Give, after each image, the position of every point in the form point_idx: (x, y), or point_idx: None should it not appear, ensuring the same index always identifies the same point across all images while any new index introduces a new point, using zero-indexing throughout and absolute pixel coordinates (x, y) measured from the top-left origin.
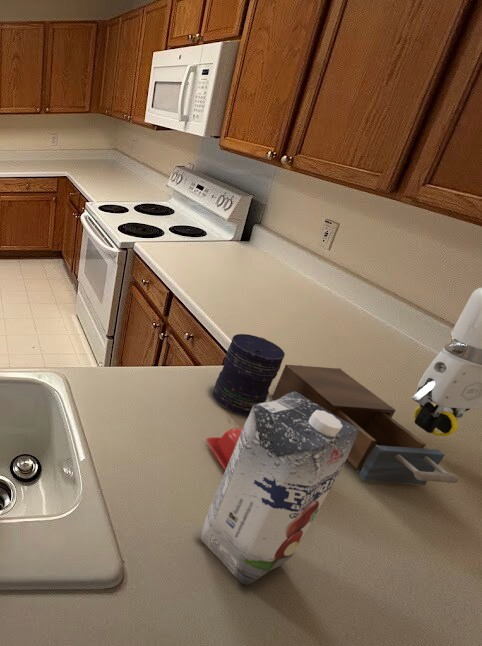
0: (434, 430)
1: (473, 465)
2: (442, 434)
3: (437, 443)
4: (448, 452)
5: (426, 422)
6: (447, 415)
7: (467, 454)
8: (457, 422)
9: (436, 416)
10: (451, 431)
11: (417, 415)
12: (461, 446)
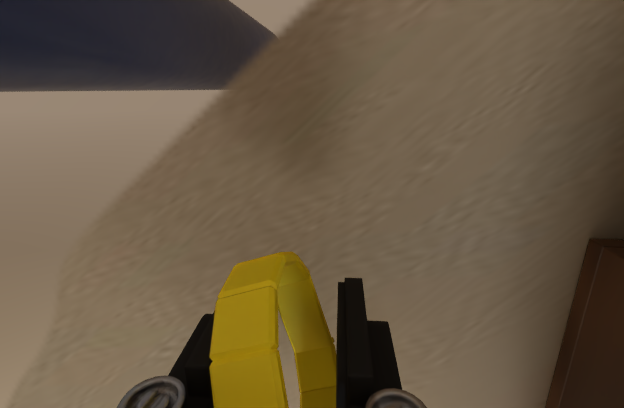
0: (282, 303)
1: (173, 141)
2: (295, 263)
3: (219, 264)
4: (220, 214)
5: (392, 344)
6: (284, 403)
7: (136, 207)
8: (219, 329)
9: (386, 392)
10: (278, 264)
11: (330, 405)
12: (118, 251)
